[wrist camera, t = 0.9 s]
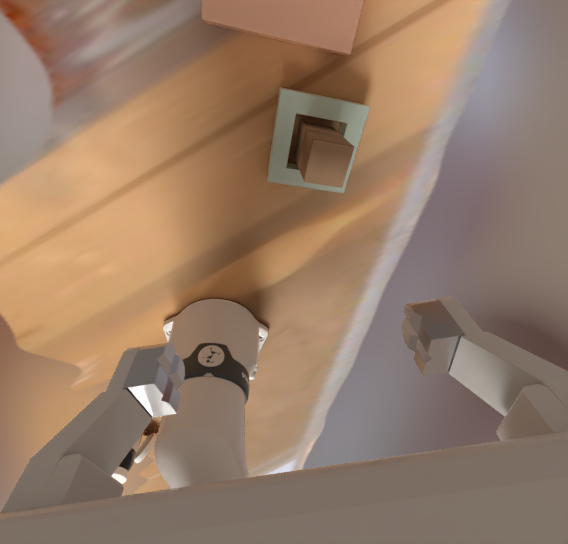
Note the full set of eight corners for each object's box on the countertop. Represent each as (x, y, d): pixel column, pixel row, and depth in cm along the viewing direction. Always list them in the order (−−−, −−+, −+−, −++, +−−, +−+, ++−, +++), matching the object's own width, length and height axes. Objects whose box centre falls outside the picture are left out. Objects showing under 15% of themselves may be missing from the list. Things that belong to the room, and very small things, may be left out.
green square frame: (339, 186, 40) (343, 193, 38) (266, 175, 38) (267, 181, 36) (363, 104, 34) (370, 106, 32) (279, 86, 33) (281, 88, 31)
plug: (323, 160, 38) (342, 187, 30) (293, 155, 37) (304, 182, 29) (332, 127, 36) (354, 146, 28) (300, 121, 35) (313, 139, 27)
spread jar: (111, 411, 68) (88, 468, 58) (162, 416, 70) (148, 471, 61) (110, 436, 74) (89, 491, 65) (157, 440, 77) (144, 493, 67)
